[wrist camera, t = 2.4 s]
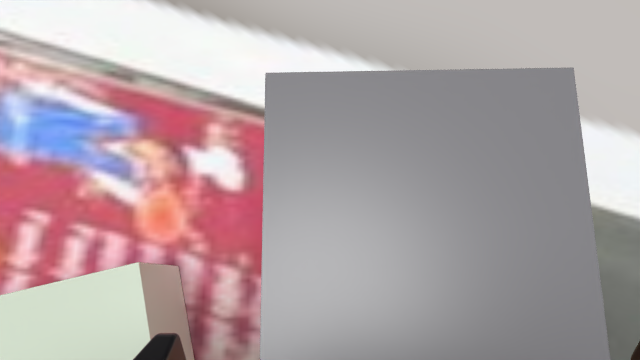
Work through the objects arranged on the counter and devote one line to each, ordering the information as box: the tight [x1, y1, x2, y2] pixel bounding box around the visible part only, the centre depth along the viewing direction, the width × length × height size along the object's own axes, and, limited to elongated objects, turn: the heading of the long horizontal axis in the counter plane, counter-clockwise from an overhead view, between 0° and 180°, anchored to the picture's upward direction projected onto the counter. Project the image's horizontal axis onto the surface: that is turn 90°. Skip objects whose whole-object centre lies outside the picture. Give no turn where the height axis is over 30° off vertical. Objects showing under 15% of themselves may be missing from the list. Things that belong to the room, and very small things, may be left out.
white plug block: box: [260, 68, 610, 360], centre depth 13 cm, size 5×5×12 cm
